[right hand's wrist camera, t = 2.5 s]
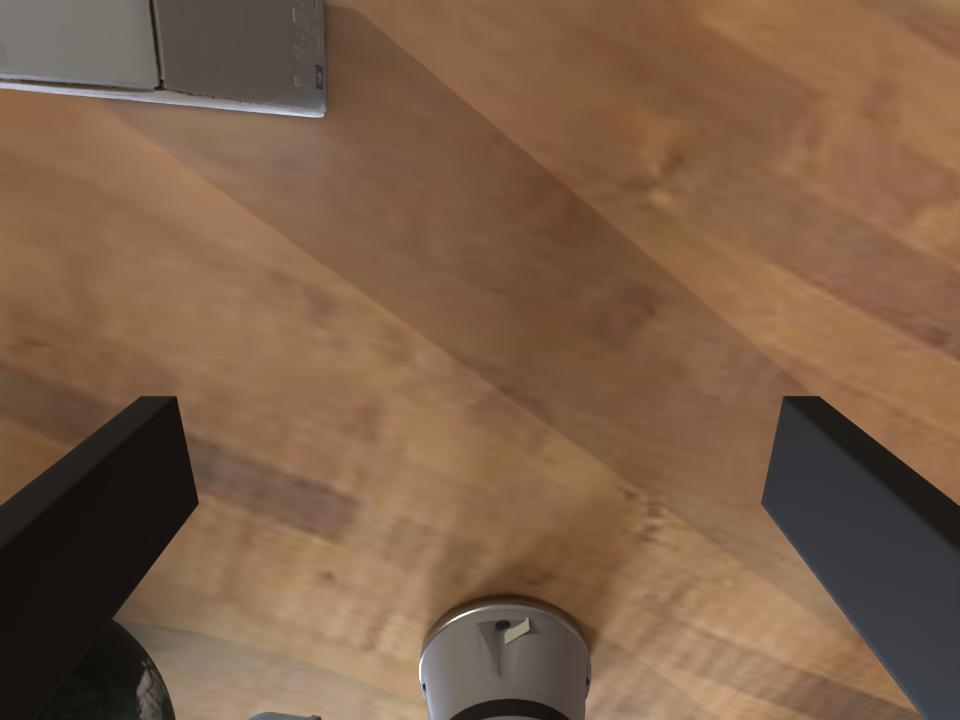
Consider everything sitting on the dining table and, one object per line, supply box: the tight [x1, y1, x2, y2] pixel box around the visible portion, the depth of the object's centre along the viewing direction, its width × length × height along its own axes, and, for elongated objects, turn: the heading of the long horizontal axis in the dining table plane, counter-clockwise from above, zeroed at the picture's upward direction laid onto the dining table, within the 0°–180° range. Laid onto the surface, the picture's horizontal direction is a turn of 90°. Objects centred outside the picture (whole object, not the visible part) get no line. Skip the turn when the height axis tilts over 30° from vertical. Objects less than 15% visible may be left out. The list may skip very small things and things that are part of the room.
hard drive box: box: [0, 0, 327, 117], centre depth 26 cm, size 16×8×20 cm, turn 86°
